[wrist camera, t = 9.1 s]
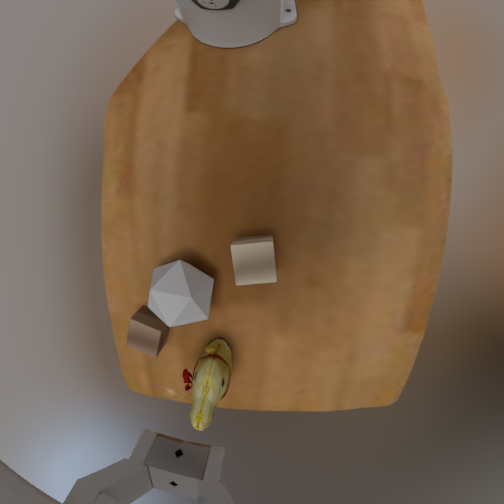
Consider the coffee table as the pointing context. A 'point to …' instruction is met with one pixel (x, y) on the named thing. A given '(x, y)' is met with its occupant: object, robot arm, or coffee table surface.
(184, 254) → the coffee table surface
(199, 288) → the die
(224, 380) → the chocolate bunny
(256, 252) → the beech block
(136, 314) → the walnut block
